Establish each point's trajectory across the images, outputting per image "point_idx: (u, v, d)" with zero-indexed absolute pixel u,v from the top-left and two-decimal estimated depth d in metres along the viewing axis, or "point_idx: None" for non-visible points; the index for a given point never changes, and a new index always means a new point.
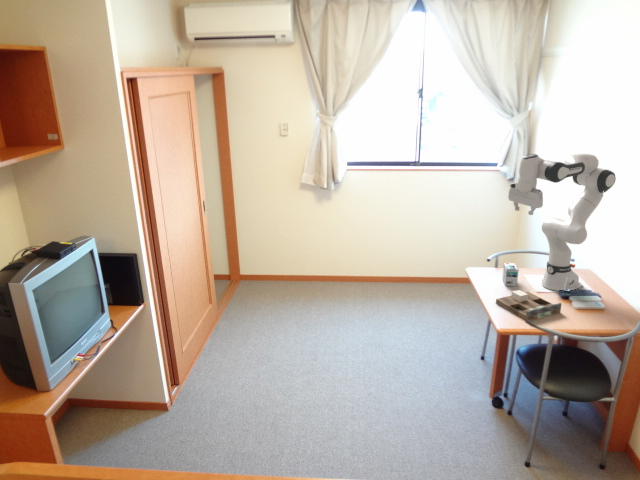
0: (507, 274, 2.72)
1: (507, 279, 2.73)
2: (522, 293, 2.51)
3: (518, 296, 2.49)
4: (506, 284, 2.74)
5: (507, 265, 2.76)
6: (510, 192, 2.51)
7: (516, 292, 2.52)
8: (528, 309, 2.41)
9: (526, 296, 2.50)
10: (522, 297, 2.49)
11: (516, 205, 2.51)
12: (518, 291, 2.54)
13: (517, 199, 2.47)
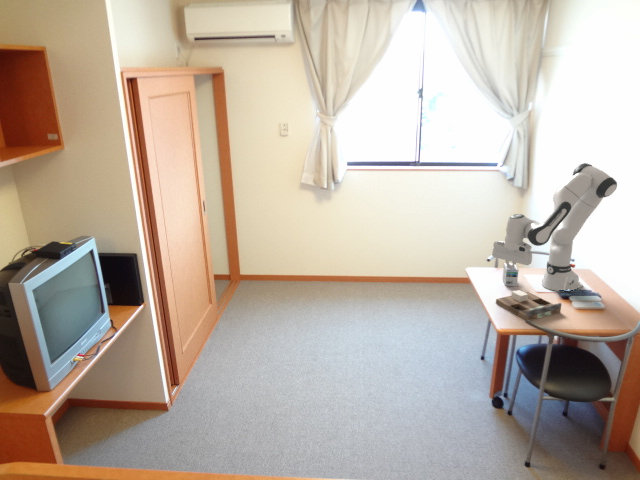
0: (507, 274, 2.72)
1: (507, 279, 2.73)
2: (522, 293, 2.51)
3: (518, 296, 2.49)
4: (506, 284, 2.74)
5: None
6: None
7: (516, 292, 2.52)
8: (528, 309, 2.41)
9: (526, 296, 2.50)
10: (522, 297, 2.49)
11: (513, 264, 2.54)
12: (518, 291, 2.54)
13: None
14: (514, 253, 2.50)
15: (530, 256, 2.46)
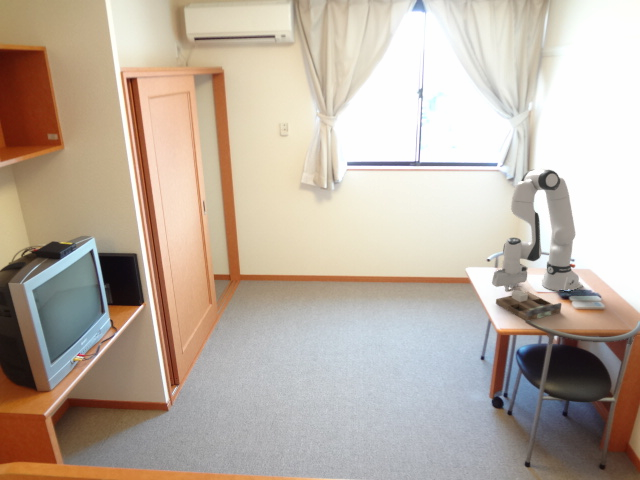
0: None
1: None
2: (522, 293, 2.51)
3: (518, 296, 2.49)
4: None
5: None
6: None
7: (516, 292, 2.52)
8: (528, 309, 2.41)
9: (526, 296, 2.50)
10: (522, 297, 2.49)
11: (510, 286, 2.59)
12: (518, 291, 2.54)
13: None
14: (514, 275, 2.56)
15: None
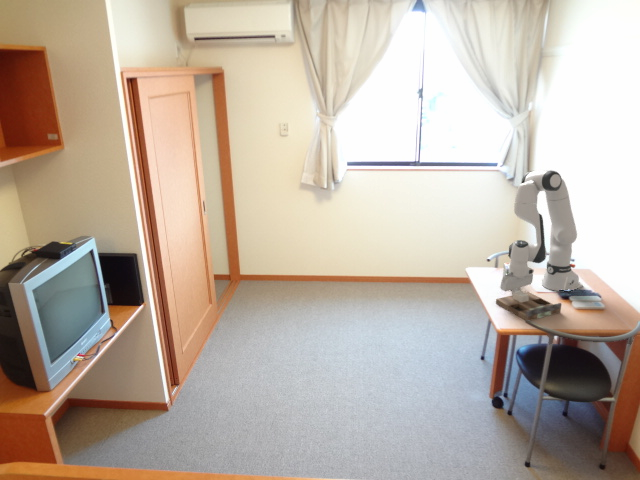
0: None
1: None
2: (523, 294, 2.50)
3: (519, 297, 2.49)
4: None
5: (507, 265, 2.76)
6: None
7: (517, 293, 2.51)
8: (528, 309, 2.41)
9: (527, 296, 2.49)
10: (523, 298, 2.48)
11: (517, 289, 2.55)
12: (519, 291, 2.53)
13: None
14: (521, 278, 2.51)
15: None
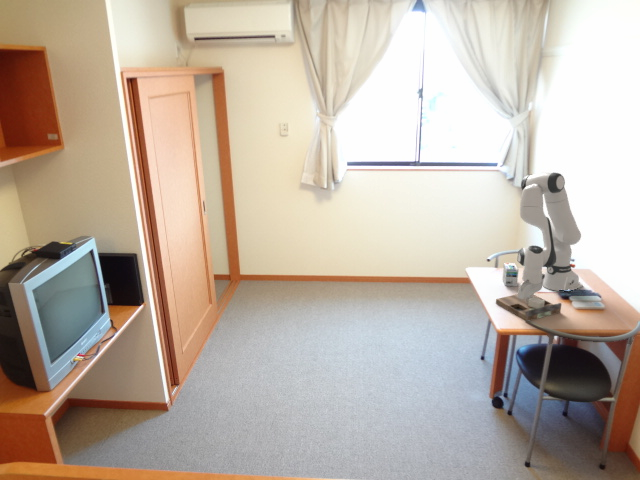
0: (507, 274, 2.72)
1: (507, 279, 2.73)
2: (539, 300, 2.43)
3: (537, 304, 2.41)
4: (506, 284, 2.74)
5: (507, 265, 2.76)
6: None
7: (533, 299, 2.43)
8: (528, 309, 2.41)
9: (543, 302, 2.42)
10: (541, 304, 2.41)
11: (530, 296, 2.47)
12: (533, 298, 2.45)
13: None
14: None
15: None
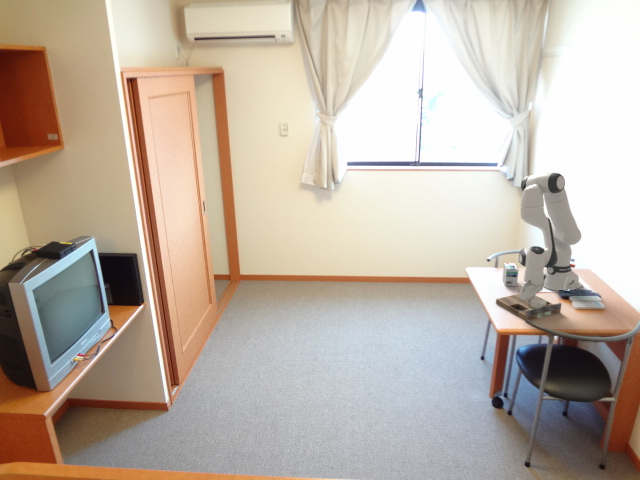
0: (507, 274, 2.72)
1: (507, 279, 2.73)
2: (541, 300, 2.42)
3: (540, 304, 2.40)
4: (506, 284, 2.74)
5: (507, 265, 2.76)
6: None
7: (535, 300, 2.42)
8: (528, 309, 2.41)
9: (546, 303, 2.42)
10: (543, 305, 2.40)
11: (531, 297, 2.46)
12: (535, 298, 2.44)
13: None
14: (537, 285, 2.43)
15: None
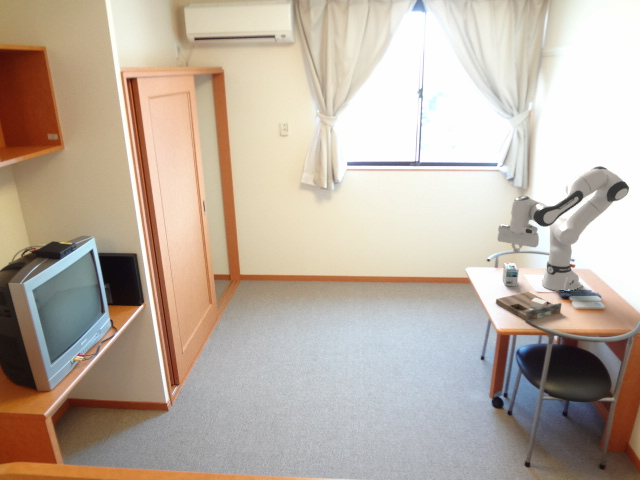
0: (507, 274, 2.72)
1: (507, 279, 2.73)
2: (541, 300, 2.42)
3: (540, 304, 2.40)
4: (506, 284, 2.74)
5: (507, 265, 2.76)
6: None
7: (535, 300, 2.42)
8: (528, 309, 2.41)
9: (546, 303, 2.42)
10: (543, 305, 2.40)
11: (519, 247, 2.51)
12: (535, 298, 2.44)
13: None
14: (520, 236, 2.47)
15: (537, 238, 2.43)
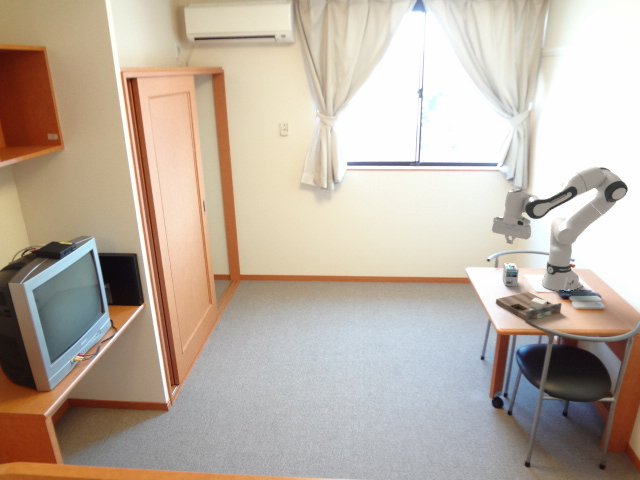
0: (507, 274, 2.72)
1: (507, 279, 2.73)
2: (541, 300, 2.42)
3: (540, 304, 2.40)
4: (506, 284, 2.74)
5: (507, 265, 2.76)
6: None
7: (535, 300, 2.42)
8: (528, 309, 2.41)
9: (546, 303, 2.42)
10: (543, 305, 2.40)
11: None
12: (535, 298, 2.44)
13: None
14: (513, 228, 2.52)
15: (529, 230, 2.48)
